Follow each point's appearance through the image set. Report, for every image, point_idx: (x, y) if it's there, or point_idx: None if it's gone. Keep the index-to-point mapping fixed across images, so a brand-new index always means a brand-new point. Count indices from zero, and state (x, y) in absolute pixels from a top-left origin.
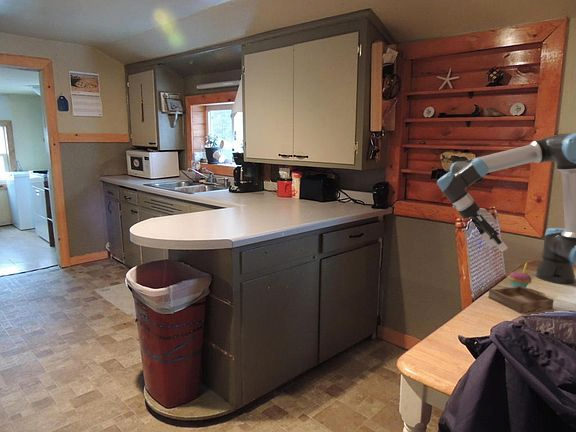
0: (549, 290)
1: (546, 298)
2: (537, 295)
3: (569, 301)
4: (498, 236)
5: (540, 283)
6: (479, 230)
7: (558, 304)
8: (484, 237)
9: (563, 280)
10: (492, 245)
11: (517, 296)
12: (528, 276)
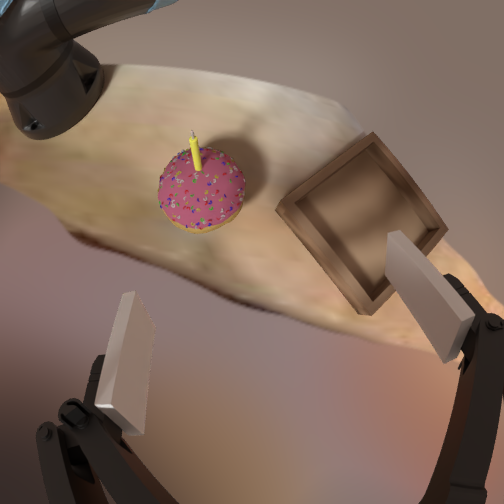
0: (183, 113)
1: (367, 145)
2: (346, 162)
3: (269, 86)
4: (465, 304)
5: (116, 129)
6: (153, 478)
7: (313, 117)
8: (141, 398)
9: (101, 73)
10: (147, 316)
11: (329, 220)
12: (216, 154)
